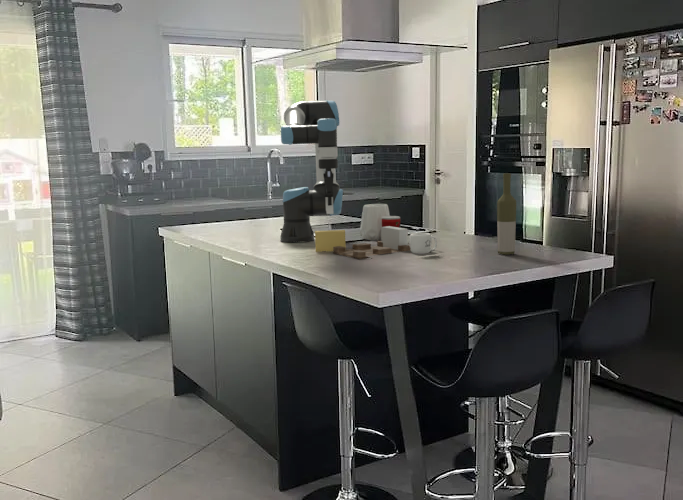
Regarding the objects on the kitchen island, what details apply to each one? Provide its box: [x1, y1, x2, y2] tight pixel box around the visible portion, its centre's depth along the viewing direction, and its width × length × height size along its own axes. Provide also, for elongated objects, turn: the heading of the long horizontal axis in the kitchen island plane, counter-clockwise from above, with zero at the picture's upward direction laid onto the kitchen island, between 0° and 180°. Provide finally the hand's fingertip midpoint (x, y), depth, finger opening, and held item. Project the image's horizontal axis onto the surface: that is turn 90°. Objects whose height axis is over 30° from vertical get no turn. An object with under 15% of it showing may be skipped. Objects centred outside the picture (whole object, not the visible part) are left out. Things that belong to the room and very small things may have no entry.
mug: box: [408, 232, 438, 255], centre depth 262 cm, size 12×8×8 cm
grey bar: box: [380, 226, 409, 250], centre depth 273 cm, size 12×4×8 cm, turn 32°
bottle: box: [496, 172, 517, 256], centre depth 254 cm, size 7×7×30 cm
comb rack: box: [332, 240, 411, 260], centre depth 268 cm, size 18×24×3 cm
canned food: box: [382, 215, 402, 228], centre depth 293 cm, size 8×8×11 cm
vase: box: [359, 203, 391, 241], centre depth 305 cm, size 14×14×15 cm
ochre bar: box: [314, 229, 347, 253], centre depth 276 cm, size 12×4×8 cm, turn 92°
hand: (329, 212), depth 274 cm, fingers open, 13 cm apart
